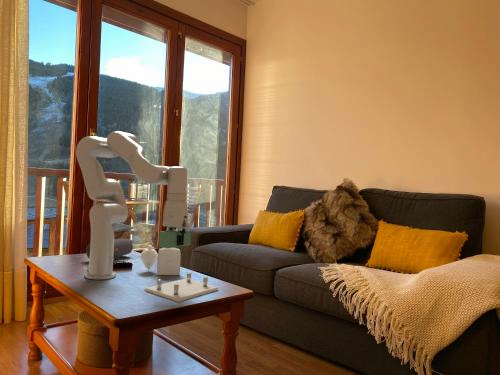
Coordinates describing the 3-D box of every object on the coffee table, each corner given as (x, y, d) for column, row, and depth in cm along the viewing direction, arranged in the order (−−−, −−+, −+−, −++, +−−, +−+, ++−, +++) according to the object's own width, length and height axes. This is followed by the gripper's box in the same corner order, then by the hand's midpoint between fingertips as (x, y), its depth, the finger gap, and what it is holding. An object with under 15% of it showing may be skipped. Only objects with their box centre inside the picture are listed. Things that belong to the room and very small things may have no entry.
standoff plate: (145, 290, 154) (146, 278, 154) (185, 281, 172) (186, 270, 172) (178, 301, 144) (179, 288, 144) (217, 290, 162) (218, 278, 162)
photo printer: (156, 275, 179) (158, 248, 178) (156, 273, 183) (158, 246, 182) (179, 276, 180) (181, 248, 180) (179, 273, 185) (181, 247, 184)
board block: (158, 246, 154) (159, 231, 154) (181, 243, 164) (182, 229, 164) (167, 248, 152) (168, 232, 151) (190, 245, 161) (190, 230, 161)
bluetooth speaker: (97, 264, 193) (98, 243, 193) (84, 261, 198) (85, 240, 197) (133, 257, 212) (134, 238, 212) (120, 254, 217) (121, 236, 217)
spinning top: (137, 270, 186) (139, 244, 186) (153, 269, 190) (155, 243, 190) (142, 273, 180) (144, 247, 179) (159, 272, 184) (160, 246, 183)
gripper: (154, 197, 160) (153, 242, 160) (185, 199, 150) (183, 248, 150) (169, 196, 166) (167, 240, 166) (199, 199, 156) (197, 245, 156)
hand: (175, 243), depth 158 cm, fingers closed on board block, 5 cm apart
